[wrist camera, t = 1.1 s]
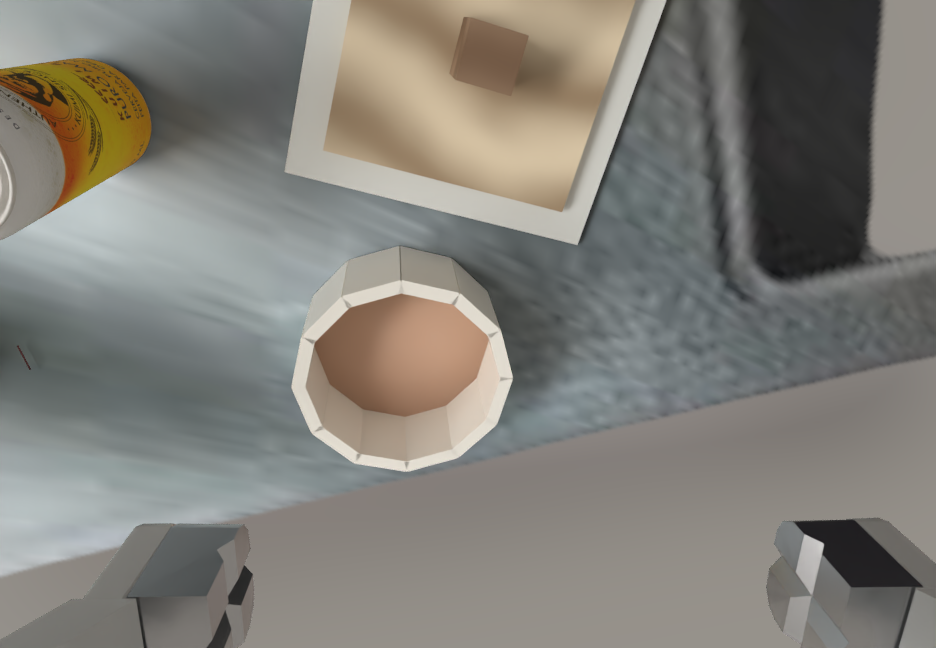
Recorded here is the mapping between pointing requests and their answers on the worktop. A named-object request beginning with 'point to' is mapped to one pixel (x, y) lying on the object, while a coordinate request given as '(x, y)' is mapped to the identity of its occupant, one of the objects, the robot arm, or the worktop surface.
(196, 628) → the robot arm
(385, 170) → the mat
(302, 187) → the worktop surface
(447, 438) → the bowl
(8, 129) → the beer can
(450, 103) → the lid
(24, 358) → the figurine
